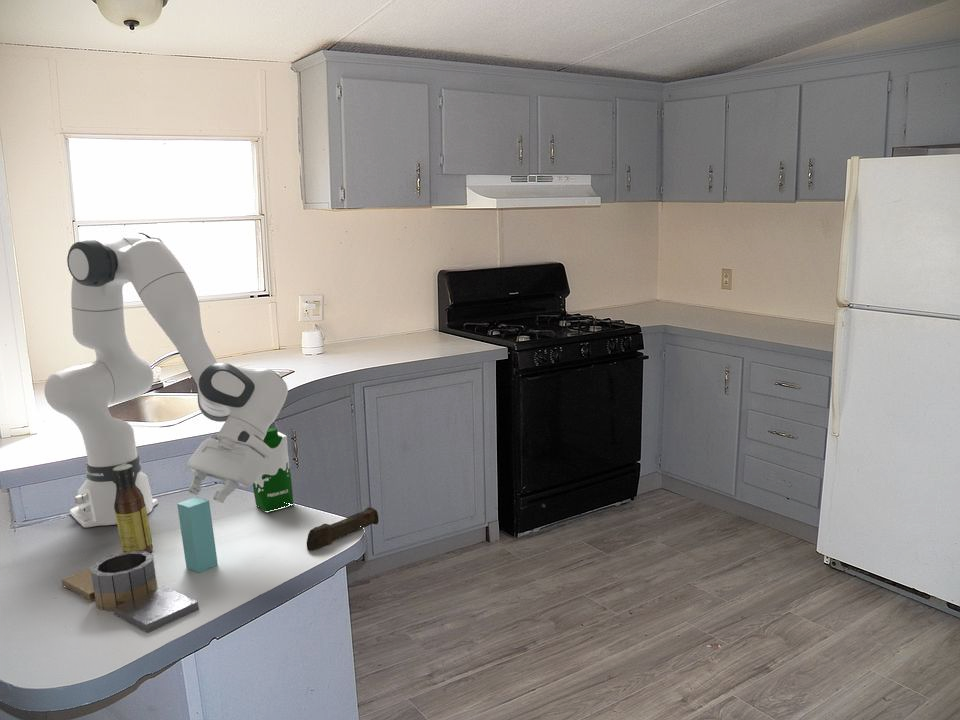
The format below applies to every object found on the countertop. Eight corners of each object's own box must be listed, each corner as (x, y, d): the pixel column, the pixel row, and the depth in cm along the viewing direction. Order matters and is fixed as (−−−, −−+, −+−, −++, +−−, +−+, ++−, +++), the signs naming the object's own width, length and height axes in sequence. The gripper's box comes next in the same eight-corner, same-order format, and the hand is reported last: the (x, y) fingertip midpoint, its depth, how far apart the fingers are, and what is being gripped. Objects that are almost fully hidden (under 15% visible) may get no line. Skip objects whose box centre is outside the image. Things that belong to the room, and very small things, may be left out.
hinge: (60, 586, 163) (54, 554, 161) (113, 566, 171) (108, 535, 170) (145, 633, 141) (139, 596, 140) (200, 608, 149) (195, 572, 148)
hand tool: (369, 521, 187) (366, 502, 186) (380, 525, 184) (378, 505, 184) (300, 550, 174) (297, 529, 173) (311, 554, 171) (309, 533, 170)
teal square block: (186, 567, 168) (177, 503, 165) (205, 559, 171) (197, 496, 169) (198, 572, 165) (189, 507, 162) (217, 564, 168) (209, 500, 166)
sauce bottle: (141, 545, 182) (128, 460, 178) (159, 549, 178) (146, 463, 175) (115, 556, 176) (101, 469, 172) (133, 561, 173) (119, 472, 169)
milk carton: (264, 515, 195) (254, 435, 191) (251, 506, 202) (241, 428, 198) (298, 506, 200) (289, 427, 196) (284, 497, 207) (275, 421, 203)
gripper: (201, 426, 178) (166, 482, 172) (257, 437, 165) (221, 498, 159) (222, 440, 182) (188, 495, 176) (278, 452, 169) (243, 512, 163)
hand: (204, 497), depth 167 cm, fingers open, 8 cm apart
